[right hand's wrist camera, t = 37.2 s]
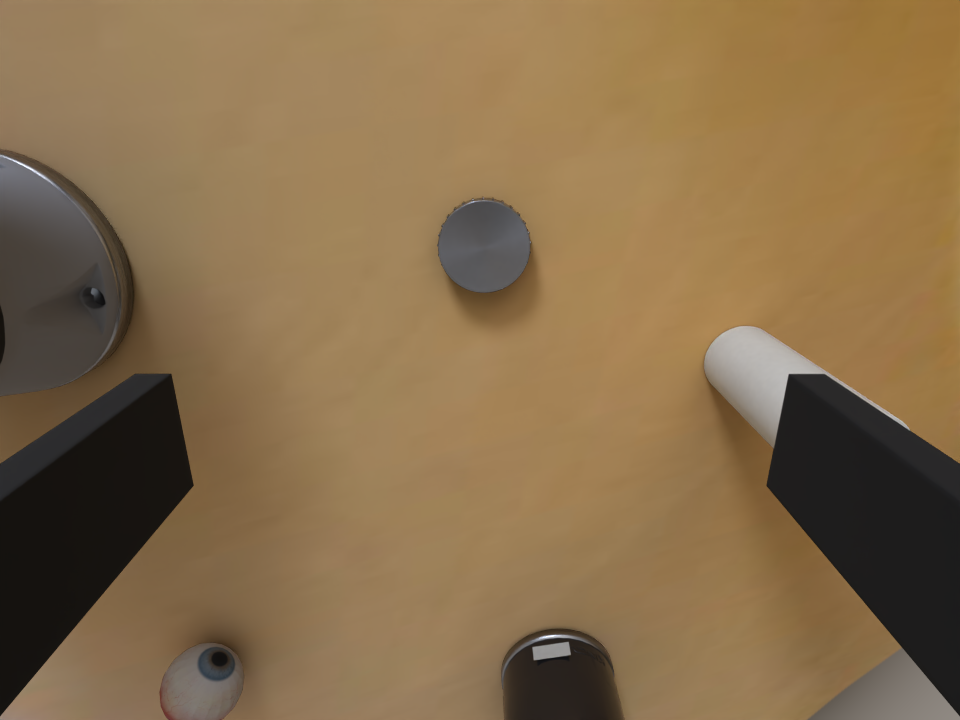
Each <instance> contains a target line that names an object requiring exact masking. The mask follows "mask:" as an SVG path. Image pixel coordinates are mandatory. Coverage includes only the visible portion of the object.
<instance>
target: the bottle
mask: <svg viewBox="0 0 960 720" xmlns="http://www.w3.org/2000/svg"><path fill="white" fill-rule="evenodd" d="M704 370H705V374H706V377H707V379H708V380H709V382H710V383H711V384H712V385H713V386H714V387H715V388H716V390H717V391H718V392H719V393H720V394H721V395H722V396H723V397H724V398H725V399H726V400H727V401H728V402H729V403H730V404H731V405H732V406H733V407H734V408H735V409H736V410H737V411H738V412H739V413H740V414H741V415H742V416H743V418H744V419H745V420H746V421H747V422H748V423H749V424H750V425H751V426H752V427H753V428H754V429H755V430H756V431H757V432H758V433H759V434H760V435H761V436H762V437H763V438H764V439H765V440H766V441H767V442H768V443H769V444H770V446H771V447H772V448H773V449H774V445H775V440H776V435H777V430H778V425H779V420H780V415H781V410H782V405H783V400H784V395H785V390H786V385H787V380H788V375H789V374H826V375H827V376H829V377H830V378H832V379H833V380H835V381H836V382H838V383H839V384H841V385H842V386H844V387H845V388H847V389H848V390H850V391H851V392H853V393H854V394H856V395H857V396H859V397H860V398H862V399H863V400H865V401H866V402H868V403H869V404H871V405H872V406H874V407H875V408H877V409H878V410H880V411H881V412H883V413H884V414H886V415H887V416H889V417H890V418H892V419H893V420H895V421H896V422H898V423H899V424H901V425H902V426H904V427H905V428H907V429H908V430H910V429H909V428H908V427H907V425H906V424H905V423H904V422H902V421H901V420H900V419H898V418H897V417H895V416H894V415H892V414H890V413H889V412H887V411H886V410H884V409H883V408H881V407H880V406H878V405H877V404H875V403H874V402H872V401H871V400H869V399H868V398H866V397H865V396H863V395H862V394H860V393H858V392H857V391H855V390H854V389H852V388H851V387H849V386H848V385H846V384H845V383H843V382H842V381H840V380H839V379H837V378H836V377H834V376H833V375H831V374H829V373H828V372H826V371H825V370H823V369H822V368H820V367H819V366H817V365H816V364H814V363H813V362H811V361H810V360H808V359H807V358H805V357H804V356H802V355H801V354H799V353H797V352H796V351H794V350H793V349H791V348H790V347H788V346H787V345H785V344H784V343H782V342H781V341H779V340H778V339H776V338H775V337H773V336H772V335H770V334H768V333H767V332H765V331H764V330H762V329H760V328H757V327H753V326H740V327H735V328H732V329H730V330H727V331H726V332H724V333H722V334H721V335H720V336H718V337H717V338H716V339H715V340H714V341H713V343H712V344H711V345H710V347H709V348H708V351H707V353H706V356H705V360H704Z"/></svg>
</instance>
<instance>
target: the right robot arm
mask: <svg viewBox="0 0 960 720" xmlns="http://www.w3.org/2000/svg"><path fill="white" fill-rule="evenodd" d="M132 307H133V285H132V278H131V273H130V268H129V264H128V261H127V258H126V255H125V252H124V250H123V247H122V245H121V243H120V241H119V239H118V237H117V235H116V233H115V232H114V230H113V228H112V227H111V225H110V223H109V222H108V220H107V219H106V218H105V216H104V215H103V213H102V212H101V211H100V210H99V209H98V207H97V206H96V205H95V204H94V203H93V201H92V200H91V199H90V198H89V197H88V196H87V195H86V194H85V193H84V192H83V191H81V190H80V189H79V188H78V187H77V186H76V185H74V184H73V183H72V182H71V181H69V180H68V179H67V178H65V177H64V176H63V175H61V174H60V173H58V172H56V171H55V170H53V169H52V168H50V167H48V166H46V165H44V164H42V163H40V162H38V161H37V160H34V159H32V158H29V157H27V156H24V155H21V154H18V153H15V152H12V151H8V150H3V149H0V396H6V395H13V394H21V393H28V392H35V391H41V390H46V389H52V388H55V387H59V386H62V385H64V384H67V383H69V382H72V381H74V380H75V379H77V378H79V377H81V376H83V375H84V374H86V373H88V372H89V371H91V370H93V369H95V368H96V367H97V366H99V365H100V364H102V363H103V362H104V361H105V360H106V359H108V358H109V357H110V356H111V355H112V353H113V352H114V351H115V350H116V349H117V347H118V346H119V344H120V343H121V341H122V339H123V337H124V335H125V333H126V331H127V328H128V325H129V323H130V318H131V314H132ZM193 486H194V485H193V480H192V475H191V470H190V465H189V460H188V455H187V450H186V445H185V440H184V435H183V430H182V425H181V420H180V415H179V410H178V405H177V400H176V395H175V390H174V385H173V380H172V375H171V374H134V375H133V376H131V377H130V378H128V379H127V380H125V381H124V382H122V383H121V384H119V385H118V386H116V387H115V388H113V389H112V390H110V391H109V392H107V393H106V394H104V395H103V396H101V397H100V398H98V399H97V400H95V401H94V402H92V403H91V404H89V405H88V406H86V407H85V408H83V409H82V410H80V411H79V412H77V413H76V414H74V415H73V416H71V417H70V418H68V419H67V420H65V421H64V422H62V423H61V424H59V425H58V426H56V427H55V428H53V429H52V430H50V431H49V432H47V433H46V434H44V435H43V436H41V437H40V438H38V439H37V440H35V441H34V442H32V443H31V444H29V445H28V446H26V447H25V448H23V449H22V450H20V451H19V452H17V453H16V454H14V455H13V456H11V457H10V458H8V459H7V460H5V461H4V462H2V463H1V464H0V716H1V715H2V713H3V712H4V711H5V710H6V709H7V707H8V706H9V705H10V704H11V703H12V701H13V700H14V699H15V698H16V697H17V695H18V694H19V693H20V692H21V691H22V690H23V688H24V687H25V686H26V685H27V684H28V682H29V681H30V680H31V679H32V678H33V676H34V675H35V674H36V673H37V672H38V670H39V669H40V668H41V667H42V666H43V665H44V663H45V662H46V661H47V660H48V659H49V657H50V656H51V655H52V654H53V653H54V651H55V650H56V649H57V648H58V647H59V645H60V644H61V643H62V642H63V641H64V639H65V638H66V637H67V636H68V635H69V634H70V632H71V631H72V630H73V629H74V628H75V626H76V625H77V624H78V623H79V622H80V620H81V619H82V618H83V617H84V616H85V614H86V613H87V612H88V611H89V610H90V608H91V607H92V606H93V605H94V604H95V603H96V601H97V600H98V599H99V598H100V597H101V595H102V594H103V593H104V592H105V591H106V589H107V588H108V587H109V586H110V585H111V583H112V582H113V581H114V580H115V579H116V578H117V576H118V575H119V574H120V573H121V572H122V570H123V569H124V568H125V567H126V566H127V564H128V563H129V562H130V561H131V560H132V558H133V557H134V556H135V555H136V554H137V552H138V551H139V550H140V549H141V548H142V547H143V545H144V544H145V543H146V542H147V541H148V539H149V538H150V537H151V536H152V535H153V533H154V532H155V531H156V530H157V529H158V527H159V526H160V525H161V524H162V523H163V522H164V520H165V519H166V518H167V517H168V516H169V514H170V513H171V512H172V511H173V510H174V508H175V507H176V506H177V505H178V504H179V502H180V501H181V500H182V499H183V498H184V496H185V495H186V494H187V493H188V492H189V491H190V489H191V488H192V487H193ZM766 486H767V487H768V488H769V489H770V491H771V492H772V493H773V494H774V495H775V496H776V498H777V499H778V500H779V501H780V502H781V504H782V505H783V506H784V507H785V508H786V510H787V511H788V512H789V513H790V514H791V516H792V517H793V518H794V519H795V520H796V522H797V523H798V524H799V525H800V526H801V527H802V529H803V530H804V531H805V532H806V533H807V535H808V536H809V537H810V538H811V539H812V541H813V542H814V543H815V544H816V545H817V547H818V548H819V549H820V550H821V551H822V552H823V554H824V555H825V556H826V557H827V558H828V560H829V561H830V562H831V563H832V564H833V566H834V567H835V568H836V569H837V570H838V572H839V573H840V574H841V575H842V576H843V578H844V579H845V580H846V581H847V582H848V583H849V585H850V586H851V587H852V588H853V589H854V591H855V592H856V593H857V594H858V595H859V597H860V598H861V599H862V600H863V601H864V603H865V604H866V605H867V606H868V607H869V608H870V610H871V611H872V612H873V613H874V614H875V616H876V617H877V618H878V619H879V620H880V622H881V623H882V624H883V625H884V626H885V628H886V629H887V630H888V631H889V632H890V634H891V635H892V636H893V637H894V638H895V639H896V641H897V642H898V643H899V644H900V645H901V647H902V648H903V649H904V650H905V651H906V653H907V654H908V655H909V656H910V657H911V658H912V660H913V661H914V662H915V663H916V665H917V666H918V667H919V668H920V669H921V670H922V672H923V673H924V674H925V675H926V676H927V678H928V679H929V680H930V681H931V682H932V684H933V685H934V686H935V687H936V688H937V690H938V691H939V692H940V693H941V694H942V695H943V697H944V698H945V699H946V700H947V701H948V703H949V704H950V705H951V706H952V707H953V709H954V710H955V711H956V712H957V713H958V715H959V716H960V464H959V463H958V462H956V461H955V460H953V459H952V458H950V457H949V456H947V455H946V454H944V453H943V452H941V451H940V450H938V449H937V448H935V447H934V446H932V445H931V444H929V443H928V442H926V441H925V440H923V439H922V438H920V437H919V436H917V435H916V434H914V433H913V432H911V431H910V430H908V429H907V428H905V427H904V426H902V425H901V424H899V423H898V422H896V421H895V420H893V419H892V418H890V417H889V416H887V415H886V414H884V413H883V412H881V411H880V410H878V409H877V408H875V407H874V406H872V405H871V404H869V403H868V402H866V401H865V400H863V399H862V398H860V397H859V396H857V395H856V394H854V393H853V392H851V391H850V390H848V389H847V388H845V387H844V386H842V385H841V384H839V383H838V382H836V381H835V380H833V379H832V378H830V377H829V376H827V375H826V374H789V375H788V380H787V385H786V390H785V395H784V400H783V405H782V410H781V415H780V420H779V425H778V430H777V435H776V440H775V445H774V450H773V455H772V460H771V465H770V470H769V475H768V480H767V485H766Z"/></svg>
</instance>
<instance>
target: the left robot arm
mask: <svg viewBox="0 0 960 720" xmlns="http://www.w3.org/2000/svg"><path fill="white" fill-rule="evenodd" d="M501 677H502V688H503V694H504V696H503V705H504V720H625V719H624V715H623V711H622V707H621V703H620V699H619V695H618V692H617V688H616V684H615V680H614V670H613V666H612V662H611V659H610V656H609V654H608V652H607V651H606V649H605V648H604V647H603V646H602V644H600V643H599V642H598V641H597V640H595V639H594V638H592V637H591V636H589V635H587V634H584V633H581V632H578V631H574V630H568V629H550V630H544V631H540V632H537V633H534V634H531V635H529V636H527V637H525V638H523V639H522V640H520V641H519V642H518V643H516V644H515V645H514V646H513V647H512V648H511V649H510V650H509V652H508V653H507V655H506V656H505V659H504V661H503V664H502V670H501Z"/></svg>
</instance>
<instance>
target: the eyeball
mask: <svg viewBox="0 0 960 720" xmlns="http://www.w3.org/2000/svg"><path fill="white" fill-rule="evenodd" d="M243 683H244V671H243V666H242V663H241V661H240V659H239V657H238V656H237V654H236V653H235V652H234V651H232V650H231V649H230V648H228V647H226V646H224V645H222V644H218V643H203V644H199V645H196V646H194V647H191V648H189V649H187V650H186V651H184V652H183V653H182V654H181V655H179V656H178V657H177V658H176V659H175V660H174V661H173V662H172V664H171V665H170V667H169V668H168V670H167V671H166V673H165V674H164V677H163V680H162V684H161V688H160V703H161V708H162V710H163V712H164V714H165V716H166V717H167V718H168V719H169V720H222V719H223V718H224V717H225V716H226V715H227V714H228V713H229V712H230V711H231V710H232V709H233V708H234V707H235V705H236V703H237V701H238V699H239V697H240V695H241V693H242V689H243Z"/></svg>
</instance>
